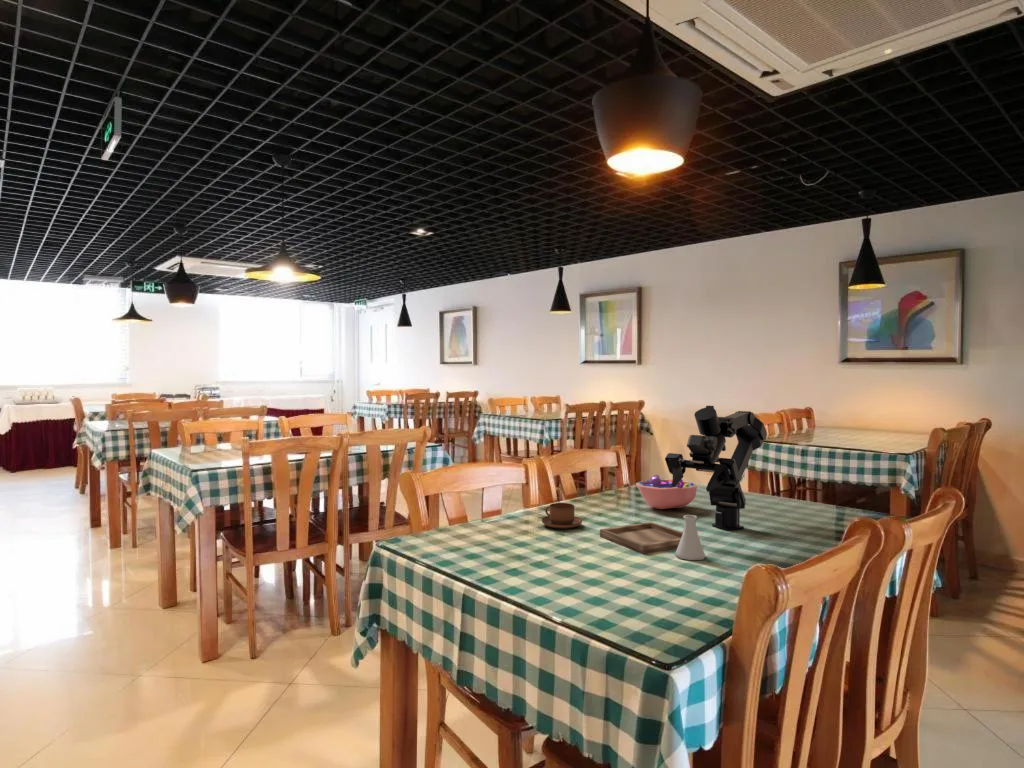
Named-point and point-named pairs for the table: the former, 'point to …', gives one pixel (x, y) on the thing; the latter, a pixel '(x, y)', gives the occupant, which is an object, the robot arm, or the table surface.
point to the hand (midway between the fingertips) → (689, 488)
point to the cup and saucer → (561, 516)
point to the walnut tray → (643, 537)
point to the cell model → (666, 493)
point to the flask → (690, 541)
